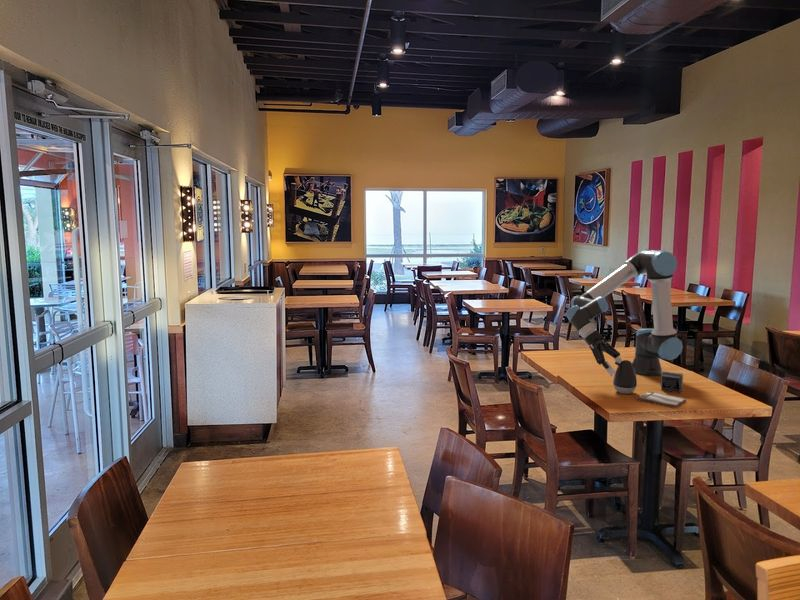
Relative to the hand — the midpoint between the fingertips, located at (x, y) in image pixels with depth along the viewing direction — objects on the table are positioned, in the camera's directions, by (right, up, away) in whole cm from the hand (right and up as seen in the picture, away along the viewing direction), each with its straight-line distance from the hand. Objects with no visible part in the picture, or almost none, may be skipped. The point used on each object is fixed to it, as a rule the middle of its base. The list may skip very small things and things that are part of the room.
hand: (619, 371), depth 277 cm
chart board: (+14, -11, -12) cm, 22 cm away
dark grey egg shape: (+2, -10, 0) cm, 10 cm away
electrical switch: (+25, -10, +4) cm, 27 cm away
